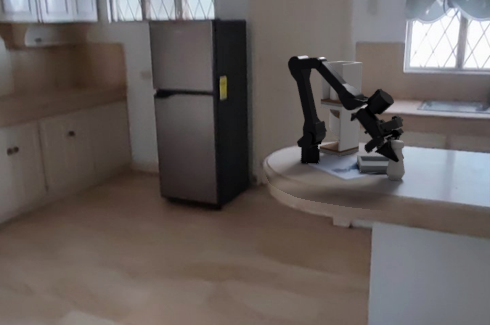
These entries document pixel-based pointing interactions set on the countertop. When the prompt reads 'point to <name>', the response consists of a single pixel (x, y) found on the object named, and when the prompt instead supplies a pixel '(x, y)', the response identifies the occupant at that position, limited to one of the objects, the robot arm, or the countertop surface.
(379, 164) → the tray
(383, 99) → the robot arm
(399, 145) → the salt shaker
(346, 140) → the display case
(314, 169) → the countertop surface
